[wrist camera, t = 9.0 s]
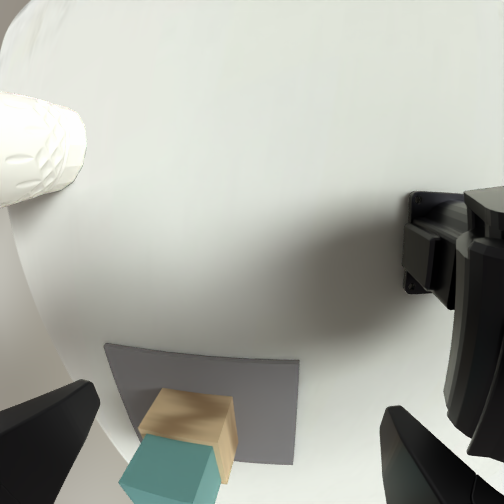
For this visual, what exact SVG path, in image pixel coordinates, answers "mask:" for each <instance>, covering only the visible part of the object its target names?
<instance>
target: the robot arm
mask: <svg viewBox="0 0 504 504" xmlns="http://www.w3.org/2000/svg"><path fill="white" fill-rule="evenodd" d="M416 196H419V197H420V201H419V202H418V203H416V202H415V197H416ZM402 266H403V267H404V268H405V273H404V282H403V288H404V290H405V291H406V292H407V293H408V294H426V293H433V294H434V295H435V296H436V297H437V298H438V299H439V300H440V301H441V302H442V303H443V304H444V305H445V306H446V307H447V309H449V310H455V312H454V324H453V334H452V342H451V350H450V357H449V363H448V370H447V375H446V381H445V386H444V391H443V392H444V396H445V401H446V406H447V408H448V412H447V416H448V418H449V419H450V421H451V422H452V423H453V425H454V426H455V427H456V428H457V429H458V430H460V431H461V432H462V433H463V434H465V435H466V436H468V437H469V438H471V439H472V440H471V442H470V444H469V446H468V449H467V454H468V455H471V456H480V457H489V458H492V459H495V460H498V461H501V462H504V186H500V187H492V188H485V189H477V190H470V191H464V194H458V193H444V192H427V191H414V192H412V193H411V195H410V197H409V220H408V223H407V224H406V226H405V229H404V245H403V258H402ZM411 283H413V287H412V288H408V287H409V285H410V284H411ZM99 406H100V399H99V397H98V394H97V392H96V390H95V387H94V385H93V383H92V382H90V381H87V380H83V379H80V380H78V381H75V382H73V383H71V384H68V385H66V386H64V387H61V388H59V389H56V390H54V391H51V392H49V393H46V394H44V395H41V396H39V397H36V398H34V399H31V400H29V401H26V402H24V403H21V404H18V405H16V406H13V407H10V408H8V409H5V410H2V411H0V504H54V502H55V500H56V497H57V495H58V493H59V491H60V489H61V487H62V485H63V483H64V481H65V479H66V477H67V475H68V473H69V471H70V469H71V467H72V465H73V463H74V461H75V460H76V458H77V455H78V454H79V452H80V450H81V448H82V446H83V444H84V442H85V440H86V438H87V436H88V433H89V431H90V428H91V426H92V423H93V421H94V418H95V416H96V413H97V411H98V409H99ZM380 444H381V460H382V477H383V484H384V490H385V496H386V502H387V504H504V495H502V494H501V493H499V492H498V491H497V490H495V489H494V488H493V487H492V486H490V485H489V484H488V483H487V482H486V481H484V480H483V479H482V478H481V477H480V476H479V475H476V473H475V472H474V471H473V470H472V469H471V468H470V467H469V466H467V465H466V464H465V463H464V462H463V461H462V460H461V459H460V458H459V457H457V456H456V455H455V454H454V453H453V452H452V451H451V450H450V449H448V448H447V447H446V446H445V445H444V444H443V443H442V442H441V441H440V440H439V439H437V438H436V437H435V436H434V435H433V434H432V433H431V432H430V431H429V430H427V429H426V428H425V427H424V426H423V425H422V424H421V423H420V422H419V421H418V420H416V419H415V418H414V417H413V416H412V415H411V414H410V413H409V412H408V411H407V410H405V409H404V408H403V407H402V406H400V405H398V406H389V407H387V408H386V410H385V413H384V416H383V419H382V422H381V425H380Z"/></svg>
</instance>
